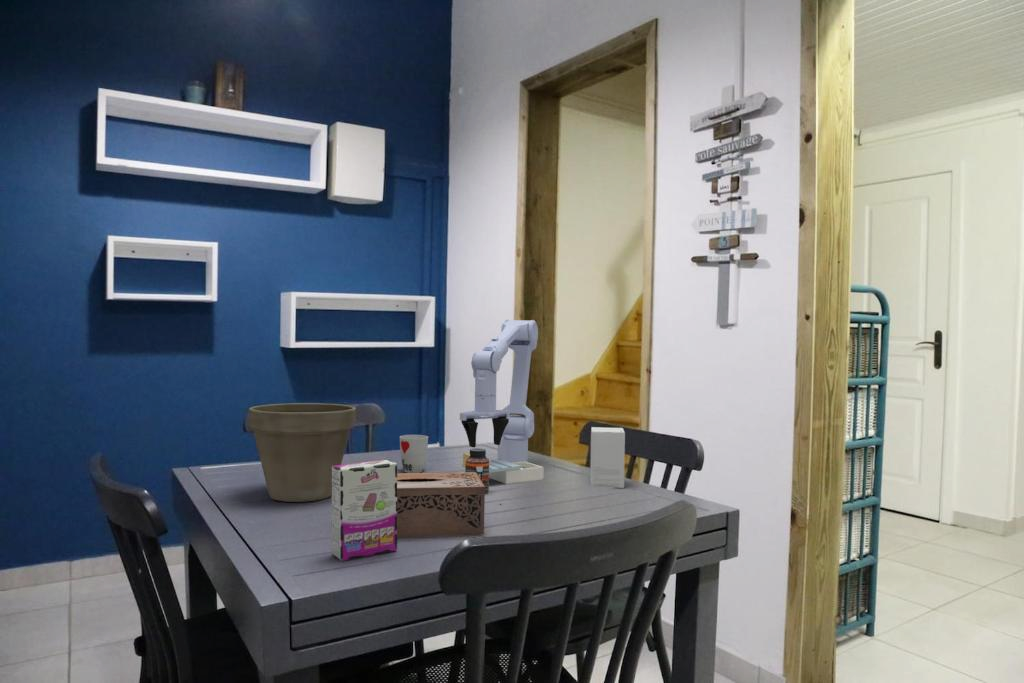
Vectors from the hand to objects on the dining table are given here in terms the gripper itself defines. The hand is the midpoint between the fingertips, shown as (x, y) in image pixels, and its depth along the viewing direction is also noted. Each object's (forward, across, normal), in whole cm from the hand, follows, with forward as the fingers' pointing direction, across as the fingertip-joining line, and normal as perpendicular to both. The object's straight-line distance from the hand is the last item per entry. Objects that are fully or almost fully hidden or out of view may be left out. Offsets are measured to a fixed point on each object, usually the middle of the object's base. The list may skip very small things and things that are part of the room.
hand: (484, 445), depth 193 cm
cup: (+10, -11, +22) cm, 26 cm away
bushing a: (+9, +12, -1) cm, 15 cm away
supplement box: (+10, +28, -17) cm, 35 cm away
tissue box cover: (+10, -34, -30) cm, 46 cm away
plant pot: (+10, -47, +8) cm, 48 cm away
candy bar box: (+10, -50, -42) cm, 65 cm away
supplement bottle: (+10, -9, -11) cm, 17 cm away
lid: (+6, 0, -2) cm, 6 cm away
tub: (+10, +9, -2) cm, 13 cm away
